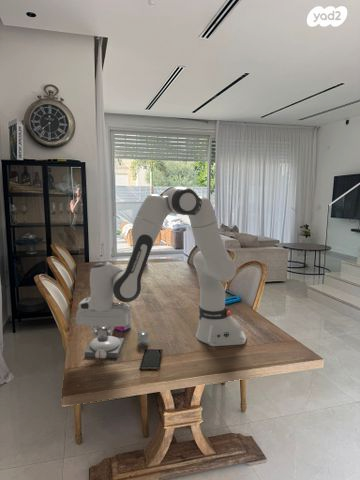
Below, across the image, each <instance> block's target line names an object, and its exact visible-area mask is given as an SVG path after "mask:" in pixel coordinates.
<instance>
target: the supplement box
mask: <svg viewBox="0 0 360 480" xmlns="http://www.w3.org/2000/svg"><path fill="white" fill-rule="evenodd" d="M126 305H127V306H128V313H127V315H128V323H127V325H126V326H124V327H123V326H115V327H114V329H113V330H116V331H118V332H120V333H125V332H126V331H128V330H130V329H132V327H131V326H132V324H131V322H132V321H131V306H130V305H129V304H126ZM126 305H124V306H126Z"/></svg>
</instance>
